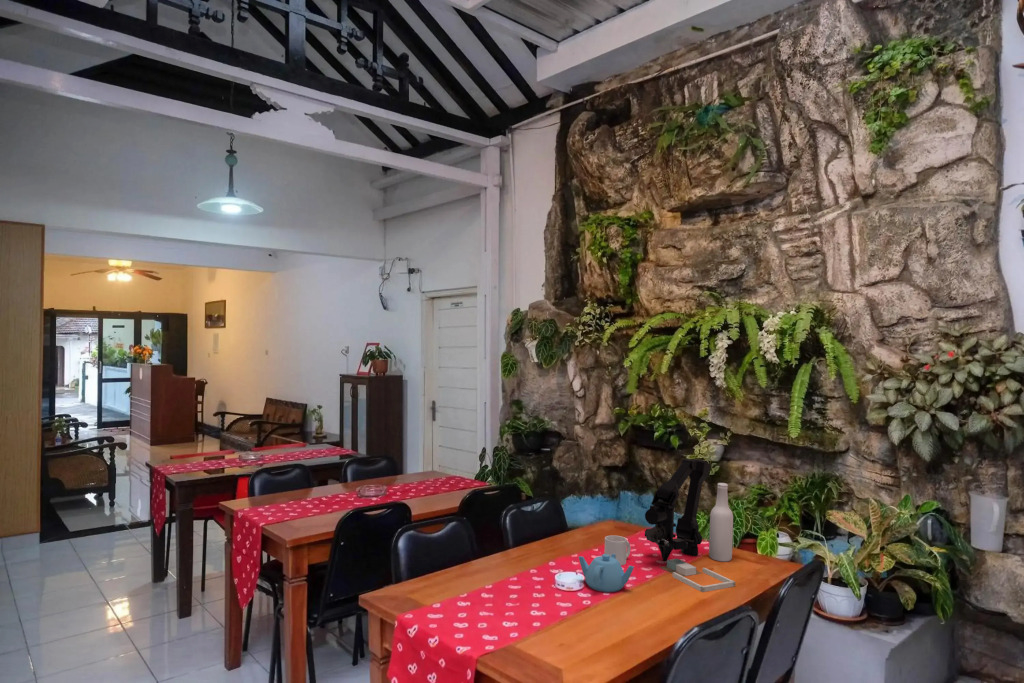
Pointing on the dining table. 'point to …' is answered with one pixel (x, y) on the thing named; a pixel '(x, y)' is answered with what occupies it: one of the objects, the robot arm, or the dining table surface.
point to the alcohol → (721, 527)
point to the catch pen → (726, 584)
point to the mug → (617, 547)
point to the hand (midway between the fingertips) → (664, 560)
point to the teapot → (605, 573)
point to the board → (675, 571)
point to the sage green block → (674, 563)
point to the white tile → (685, 569)
